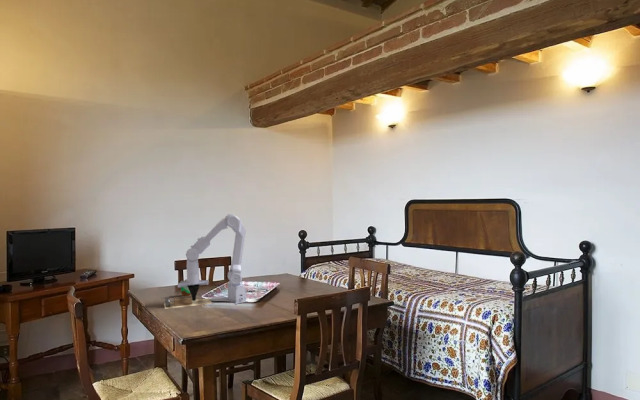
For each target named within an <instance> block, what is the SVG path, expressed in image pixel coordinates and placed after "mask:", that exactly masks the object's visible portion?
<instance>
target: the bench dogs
mask: <svg viewBox="0 0 640 400" xmlns="http://www.w3.org/2000/svg"><path fill="white" fill-rule="evenodd" d="M164 303H165V305H166V307H170V303H171V298H170V297H169V296H166V297H165V298H164Z"/></svg>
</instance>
